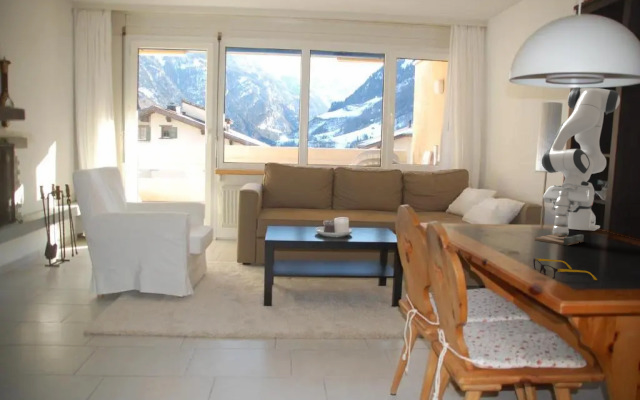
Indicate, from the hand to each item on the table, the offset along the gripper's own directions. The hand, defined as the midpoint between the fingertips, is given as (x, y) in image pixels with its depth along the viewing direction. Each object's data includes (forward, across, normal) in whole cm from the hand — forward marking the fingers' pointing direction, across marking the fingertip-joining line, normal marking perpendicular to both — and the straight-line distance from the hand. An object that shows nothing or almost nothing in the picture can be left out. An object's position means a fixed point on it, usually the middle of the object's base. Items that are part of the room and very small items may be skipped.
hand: (561, 210), depth 221 cm
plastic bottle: (+8, 0, +9) cm, 12 cm away
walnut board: (+9, 0, +10) cm, 14 cm away
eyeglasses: (+52, +27, -32) cm, 67 cm away
